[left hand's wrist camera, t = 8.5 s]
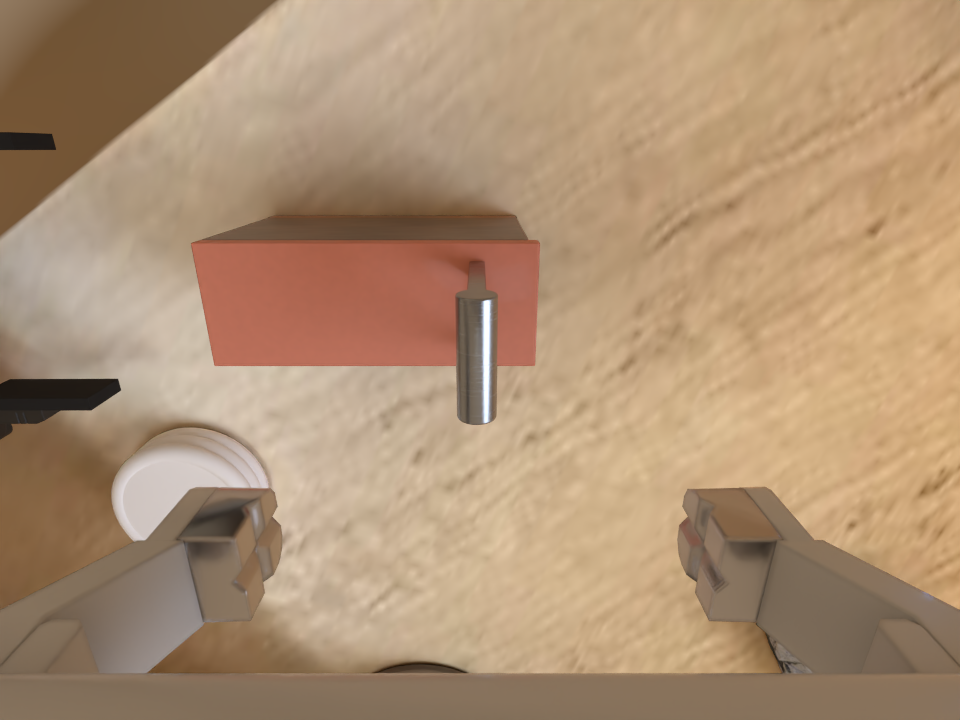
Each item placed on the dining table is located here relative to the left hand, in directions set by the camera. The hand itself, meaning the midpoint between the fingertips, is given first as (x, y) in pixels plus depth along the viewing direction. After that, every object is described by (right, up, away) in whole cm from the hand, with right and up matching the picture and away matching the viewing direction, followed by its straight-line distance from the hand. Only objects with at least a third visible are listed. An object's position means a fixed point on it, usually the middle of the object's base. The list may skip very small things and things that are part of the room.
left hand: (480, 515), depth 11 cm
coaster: (-21, -6, +30) cm, 37 cm away
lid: (-5, +6, +15) cm, 17 cm away
